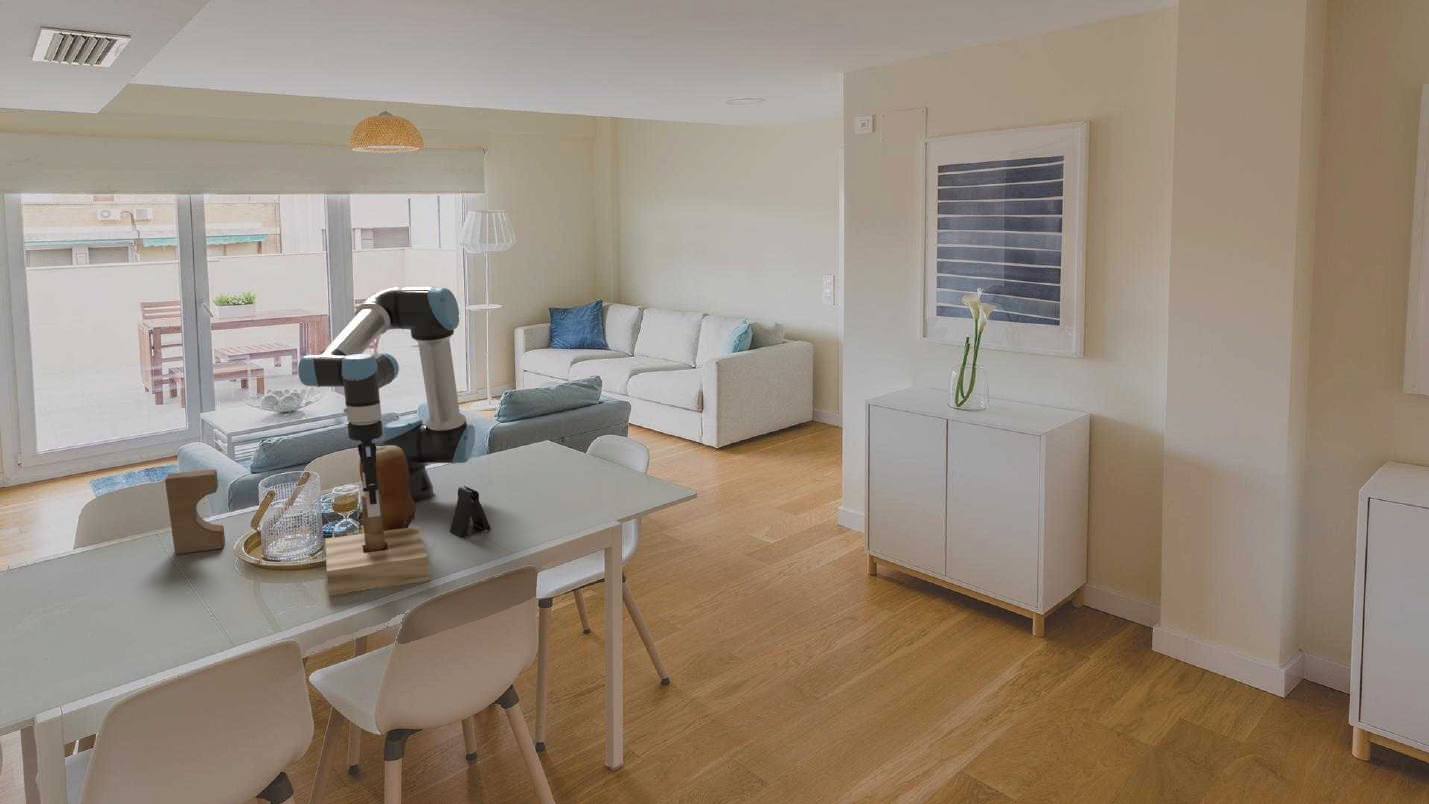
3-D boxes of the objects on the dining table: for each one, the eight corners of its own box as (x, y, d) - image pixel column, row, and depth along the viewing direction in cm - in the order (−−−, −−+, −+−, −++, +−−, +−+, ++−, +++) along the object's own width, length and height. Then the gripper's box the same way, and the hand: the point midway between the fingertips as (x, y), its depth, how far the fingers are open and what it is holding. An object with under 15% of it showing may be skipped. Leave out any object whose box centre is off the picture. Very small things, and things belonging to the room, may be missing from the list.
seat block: (327, 561, 232) (325, 538, 231) (419, 548, 241) (418, 526, 239) (329, 595, 213) (326, 571, 211) (429, 580, 221) (427, 556, 220)
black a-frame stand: (461, 538, 248) (458, 494, 245) (449, 532, 252) (447, 489, 250) (491, 529, 254) (488, 487, 252) (479, 524, 258) (476, 482, 256)
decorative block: (225, 541, 245) (217, 468, 241) (223, 549, 240) (214, 474, 236) (178, 547, 241) (168, 473, 237) (174, 555, 236) (164, 479, 232)
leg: (366, 564, 228) (360, 494, 224) (386, 562, 229) (380, 492, 225) (367, 571, 224) (361, 499, 220) (387, 568, 225) (381, 497, 221)
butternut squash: (364, 532, 252) (356, 442, 247) (416, 525, 257) (409, 437, 252) (365, 550, 240) (357, 456, 234) (420, 543, 244) (413, 450, 239)
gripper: (345, 410, 228) (353, 492, 233) (349, 436, 206) (358, 526, 211) (377, 407, 231) (385, 488, 236) (385, 432, 209) (393, 522, 214)
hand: (372, 507), depth 223 cm, fingers open, 13 cm apart
